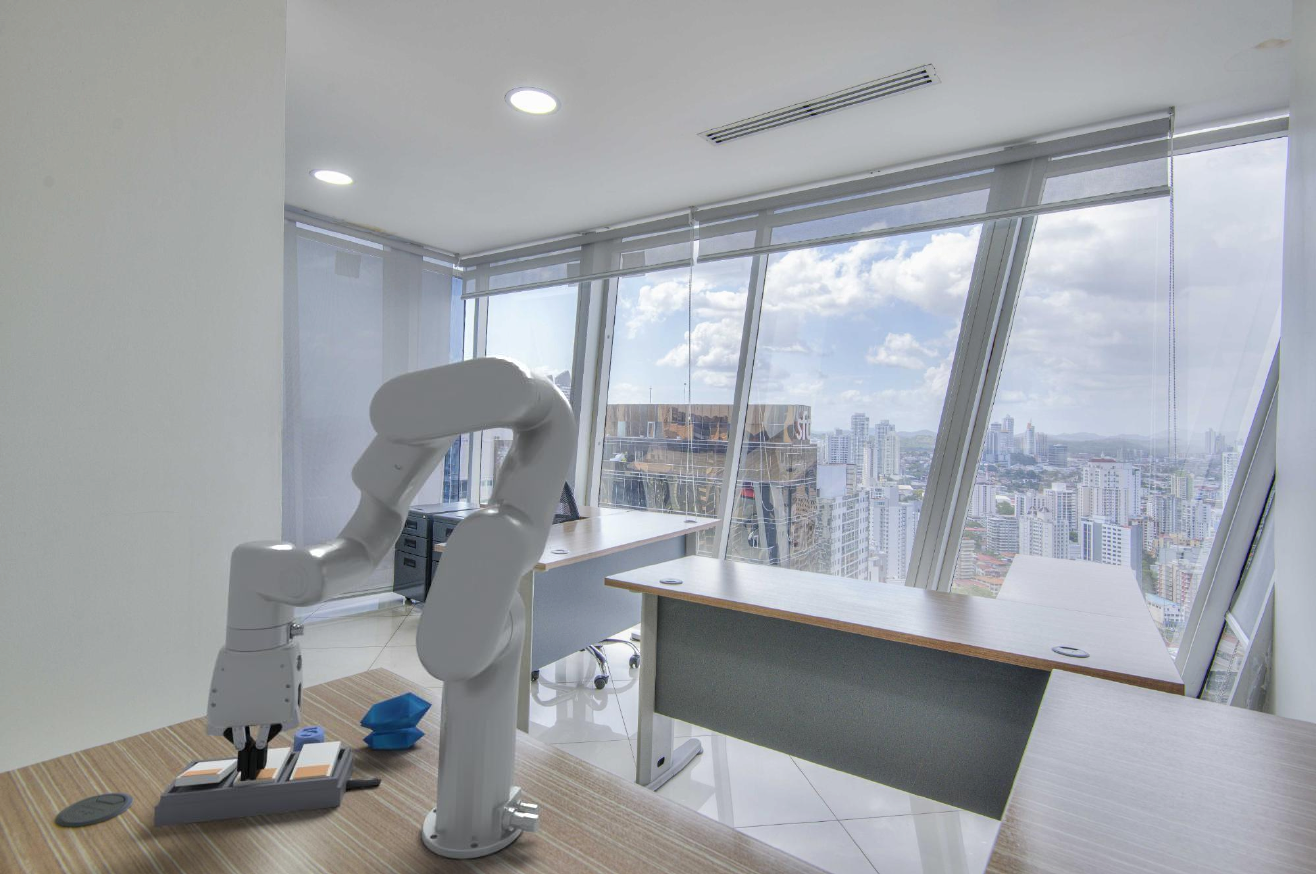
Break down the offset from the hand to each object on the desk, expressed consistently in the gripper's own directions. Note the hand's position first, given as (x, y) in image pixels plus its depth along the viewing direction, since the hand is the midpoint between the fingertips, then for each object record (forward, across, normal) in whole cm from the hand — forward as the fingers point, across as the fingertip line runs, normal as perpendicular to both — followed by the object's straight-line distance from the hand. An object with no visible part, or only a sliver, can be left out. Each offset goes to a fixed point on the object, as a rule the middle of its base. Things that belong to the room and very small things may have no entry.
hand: (251, 775), depth 81 cm
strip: (+4, -3, -3) cm, 6 cm away
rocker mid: (+1, -1, -3) cm, 3 cm away
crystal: (+5, -16, -14) cm, 22 cm away
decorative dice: (+5, -4, -13) cm, 14 cm away
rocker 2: (+1, -7, -3) cm, 8 cm away
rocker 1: (+1, +6, -3) cm, 7 cm away
